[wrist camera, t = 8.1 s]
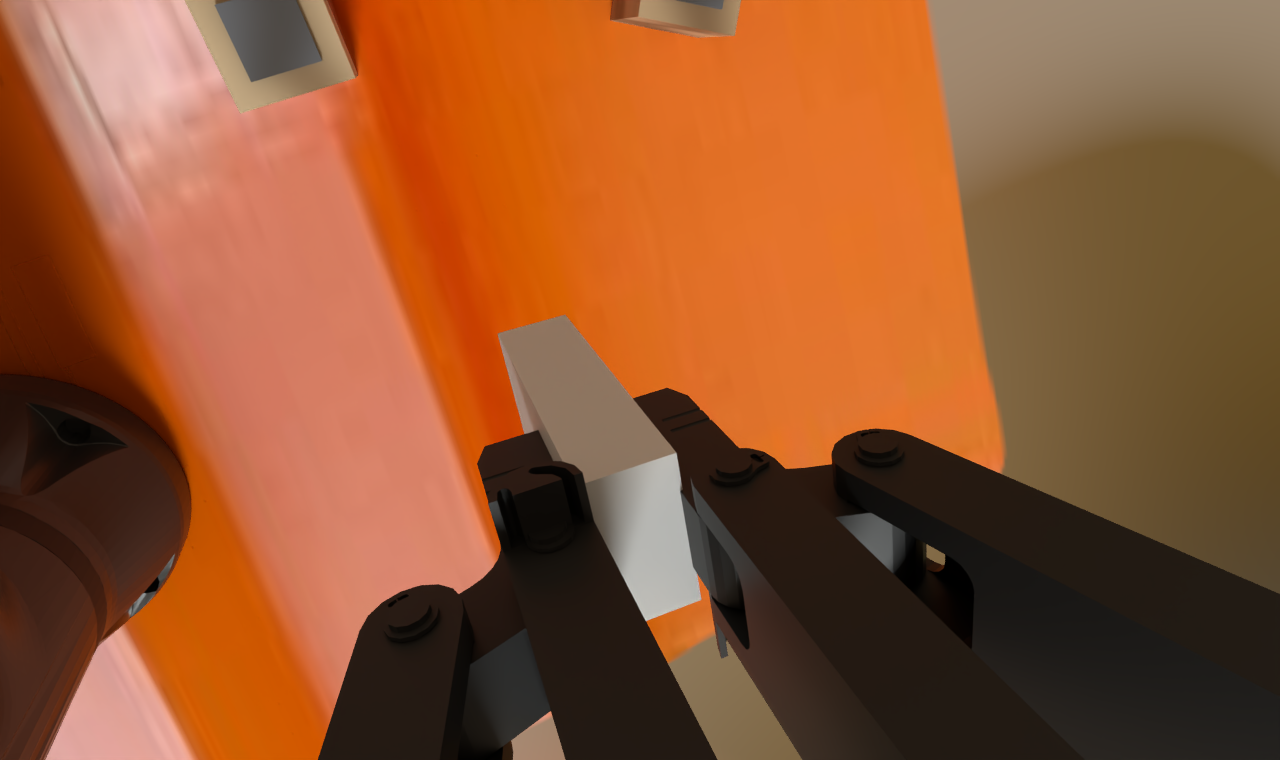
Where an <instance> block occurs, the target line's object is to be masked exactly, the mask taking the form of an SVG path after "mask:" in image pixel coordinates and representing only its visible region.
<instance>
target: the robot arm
mask: <svg viewBox="0 0 1280 760" xmlns="http://www.w3.org/2000/svg"><path fill="white" fill-rule="evenodd" d="M498 337H499V341H500V344H501V348H502V352H503V355H504V359H505V363H506V367H507V370H508V374H509V378H510V382H511V385H512V389H513V393H514V396H515V400H516V404H517V408H518V411H519V415H520V419H521V422H522V426H523V430H524V434H523V435H520V436H517V437H514V438H511V439H507V440H504V441H501V442H498V443H494V444H491V445H488V446H485V447H484V449H483V451H482V454H481V456H480V458H479V461H478V463H477V465H478V468H479V471H480V475H481V478H482V481H483V485H484V488H485V492H486V495H487V498H488V505H489V508H490V511H491V514H492V518H493V521H494V524H495V527H496V531H497V534H498V537H499V540H500V544H501V551H500V555H499V558H498V560H497V562H496V563H495V565H494V567H493V568H492V569H491V570H490V571H489V572H488V573H487V574H486V576H485V577H484V578H483V579H481V580H480V581H478V582H477V583H476V584H474V585H473V586H471V587H470V588H468V589H467V590H465V591H463V592H462V593H460V594H458V593H457V592H456V591H455V590H454V589H453V588H449V587H446V586H442V585H439V584H437V585H421V586H417V587H414V588H411V589H408V590H405V591H402V592H399V593H398V594H396V595H394V596H393V597H391V598H389V599H387V600H386V601H384V602H382V603H381V604H380V605H379V606H378V607H377V608H376V609H375V610H374V611H373V612H372V613H371V614H370V615H369V616H368V617H367V619H366V621H365V622H364V624H363V626H362V628H361V629H360V631H359V634H358V638H357V641H356V644H355V647H354V650H353V653H352V656H351V659H350V662H349V665H348V668H347V671H346V675H345V678H344V681H343V684H342V687H341V690H340V693H339V696H338V699H337V702H336V705H335V708H334V712H333V715H332V718H331V721H330V724H329V727H328V730H327V733H326V736H325V739H324V742H323V745H322V749H321V752H320V755H319V758H318V760H513V749H512V742H511V740H512V739H513V738H515V737H516V736H517V735H519V734H520V733H522V732H523V731H524V730H526V729H527V728H528V727H530V726H531V725H532V724H534V723H535V722H536V721H538V720H539V719H540V718H542V717H543V716H544V715H546V714H547V713H548V712H550V711H551V712H552V716H553V719H554V722H555V726H556V729H557V732H558V736H559V739H560V742H561V746H562V749H563V752H564V756H565V759H566V760H717V758H716V756H715V754H714V752H713V750H712V748H711V746H710V744H709V742H708V741H707V739H706V737H705V735H704V733H703V731H702V729H701V727H700V725H699V723H698V721H697V719H696V717H695V716H694V713H693V712H692V710H691V708H690V706H689V704H688V702H687V700H686V698H685V696H684V694H683V692H682V690H681V688H680V686H679V684H678V682H677V681H676V679H675V677H674V675H673V673H672V671H671V669H670V667H669V665H668V663H667V661H666V659H665V657H664V655H663V653H662V651H661V650H660V648H659V646H658V644H657V642H656V640H655V638H654V636H653V634H652V632H651V630H650V628H649V626H648V624H647V622H646V621H647V620H650V619H652V618H655V617H657V616H660V615H663V614H665V613H668V612H671V611H673V610H676V609H678V608H681V607H684V606H686V605H689V604H692V603H694V602H697V601H699V600H701V595H700V589H699V583H698V577H697V574H698V575H699V577H700V578H701V580H702V582H703V583H704V585H705V586H706V588H707V589H708V591H709V596H710V602H711V608H712V614H713V620H714V626H715V633H716V639H717V645H718V649H719V652H720V656H721V658H724V657H726V656H728V654H727V647H726V641H728V642H729V644H730V645H731V647H732V648H733V650H734V652H735V653H736V655H737V656H738V658H739V660H740V661H741V663H742V664H743V666H744V668H745V669H746V671H747V672H748V674H749V676H750V677H751V679H752V680H753V682H754V683H755V685H756V687H757V688H758V690H759V691H760V693H761V694H762V696H763V698H764V699H765V701H766V703H767V704H768V706H769V707H770V709H771V710H772V712H773V713H774V715H775V717H776V718H777V720H778V721H779V723H780V725H781V726H782V728H783V730H784V731H785V733H786V734H787V736H788V737H789V739H790V741H791V742H792V744H793V745H794V747H795V749H796V750H797V752H798V753H799V755H800V756H801V758H802V760H1280V594H1278V593H1276V592H1274V591H1271V590H1269V589H1267V588H1264V587H1262V586H1260V585H1258V584H1255V583H1253V582H1251V581H1248V580H1246V579H1243V578H1241V577H1239V576H1236V575H1234V574H1232V573H1230V572H1227V571H1225V570H1223V569H1220V568H1218V567H1216V566H1213V565H1211V564H1209V563H1206V562H1204V561H1202V560H1199V559H1197V558H1195V557H1192V556H1190V555H1188V554H1186V553H1183V552H1181V551H1179V550H1176V549H1174V548H1172V547H1169V546H1167V545H1164V544H1162V543H1160V542H1158V541H1155V540H1153V539H1151V538H1148V537H1146V536H1144V535H1141V534H1139V533H1137V532H1134V531H1132V530H1130V529H1127V528H1125V527H1122V526H1120V525H1118V524H1116V523H1114V522H1111V521H1109V520H1106V519H1104V518H1102V517H1100V516H1097V515H1094V514H1092V513H1090V512H1088V511H1086V510H1083V509H1081V508H1079V507H1076V506H1074V505H1072V504H1069V503H1067V502H1065V501H1062V500H1060V499H1058V498H1055V497H1053V496H1051V495H1048V494H1046V493H1044V492H1042V491H1039V490H1037V489H1035V488H1032V487H1030V486H1028V485H1025V484H1023V483H1020V482H1018V481H1016V480H1014V479H1011V478H1009V477H1007V476H1004V475H1002V474H1000V473H997V472H995V471H993V470H990V469H988V468H986V467H983V466H981V465H979V464H976V463H974V462H972V461H970V460H967V459H965V458H963V457H960V456H958V455H956V454H953V453H951V452H949V451H946V450H944V449H942V448H939V447H937V446H935V445H932V444H930V443H928V442H925V441H923V440H921V439H918V438H916V437H914V436H911V435H909V434H906V433H902V432H899V431H895V430H886V429H869V430H862V431H857V432H855V433H852V434H849V435H847V436H844V437H843V438H842V439H841V440H839V441H838V442H837V443H836V444H835V445H834V448H833V451H832V464H831V465H823V466H816V467H808V468H797V469H785V468H784V467H783V466H782V465H781V464H780V463H779V462H778V461H777V460H776V459H775V458H773V457H771V456H770V455H768V454H766V453H765V452H763V451H758V450H754V449H750V448H738V447H737V446H736V445H735V444H734V443H733V442H732V441H731V439H730V438H729V437H728V436H727V435H726V434H725V433H724V432H723V431H722V430H721V429H720V428H719V427H718V426H717V425H716V424H715V423H714V422H713V421H712V420H710V419H709V417H708V416H707V415H706V414H705V413H704V412H703V411H702V410H700V408H699V407H698V406H697V405H696V404H695V403H694V401H693V400H692V399H691V398H690V397H689V396H688V395H685V394H682V393H680V392H677V391H674V390H671V389H669V388H665V389H662V390H659V391H655V392H652V393H649V394H646V395H642V396H639V397H636V398H632V397H631V396H630V395H629V393H628V392H627V391H626V390H625V388H624V387H623V386H622V385H621V383H620V382H619V381H618V380H617V378H616V377H615V376H614V375H613V373H612V372H611V371H610V370H609V368H608V367H607V366H606V365H605V364H604V362H603V361H602V360H601V359H600V357H599V356H598V355H597V354H596V352H595V351H594V350H593V349H592V347H591V346H590V345H589V344H588V342H587V341H586V340H585V339H584V337H583V336H582V335H581V334H580V332H579V331H578V330H577V329H576V328H575V326H574V325H573V324H572V323H571V321H570V320H569V319H568V318H567V316H566V315H563V316H559V317H555V318H552V319H548V320H545V321H541V322H537V323H534V324H530V325H527V326H523V327H519V328H516V329H512V330H509V331H505V332H501V333H498ZM190 520H191V499H190V493H189V488H188V484H187V481H186V478H185V475H184V473H183V471H182V468H181V466H180V464H179V462H178V461H177V459H176V457H175V456H174V454H173V453H172V451H171V450H170V448H169V447H168V446H167V444H166V443H165V442H164V441H163V440H162V438H161V437H160V436H159V435H158V434H157V433H156V432H155V431H154V430H153V429H152V428H151V427H149V426H148V425H147V424H146V423H145V422H144V421H142V420H141V419H140V418H139V417H137V416H136V415H134V414H133V413H131V412H130V411H129V410H127V409H125V408H124V407H122V406H120V405H119V404H117V403H115V402H113V401H111V400H109V399H108V398H105V397H103V396H101V395H99V394H97V393H94V392H92V391H89V390H86V389H84V388H81V387H78V386H74V385H71V384H68V383H64V382H60V381H56V380H51V379H46V378H39V377H32V376H22V375H0V760H45V759H46V757H47V755H48V753H49V750H50V748H51V746H52V744H53V742H54V739H55V737H56V735H57V733H58V731H59V728H60V726H61V724H62V722H63V720H64V717H65V715H66V713H67V711H68V709H69V706H70V704H71V702H72V700H73V698H74V696H75V694H76V691H77V689H78V687H79V685H80V683H81V681H82V679H83V677H84V674H85V672H86V670H87V668H88V666H89V664H90V662H91V659H92V657H93V655H94V653H95V651H96V649H97V647H98V646H99V645H100V644H101V643H102V642H104V641H105V640H106V639H107V638H108V637H109V636H111V635H112V634H113V633H114V632H115V631H116V630H118V629H119V628H120V627H121V626H122V625H123V624H125V623H126V622H127V621H128V620H129V619H130V618H131V617H132V616H134V615H135V614H136V613H137V612H139V611H140V610H141V609H142V608H143V607H144V606H145V605H146V604H147V603H149V602H150V600H151V599H152V598H153V597H154V596H155V595H156V594H157V593H158V592H159V590H160V589H161V588H162V587H163V585H164V584H165V582H166V581H167V579H168V578H169V576H170V575H171V573H172V571H173V569H174V567H175V565H176V563H177V561H178V558H179V556H180V553H181V551H182V548H183V546H184V543H185V540H186V538H187V535H188V531H189V526H190ZM926 544H928V545H929V546H931V547H933V548H935V549H937V550H938V551H940V552H942V553H944V554H945V565H941V564H938V563H936V562H934V561H932V560H930V559H929V558H927V557H926Z"/></svg>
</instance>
